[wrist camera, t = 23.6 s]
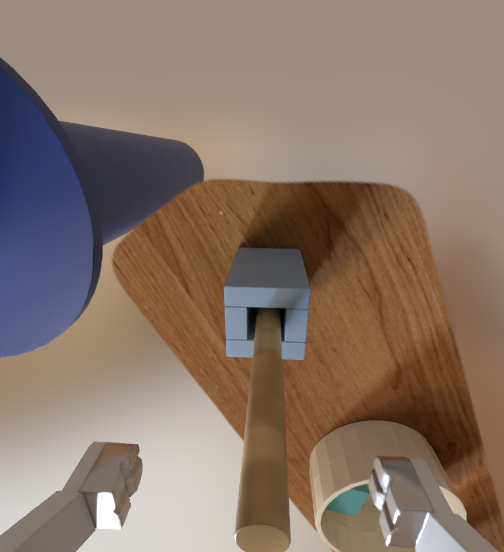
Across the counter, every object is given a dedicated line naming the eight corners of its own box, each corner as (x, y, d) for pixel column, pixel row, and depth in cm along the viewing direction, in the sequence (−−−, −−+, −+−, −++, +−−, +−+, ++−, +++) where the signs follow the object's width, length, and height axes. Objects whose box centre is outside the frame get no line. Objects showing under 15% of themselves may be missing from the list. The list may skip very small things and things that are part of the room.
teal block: (313, 470, 34) (318, 508, 30) (324, 447, 32) (331, 484, 29) (346, 477, 34) (355, 516, 30) (359, 455, 32) (370, 493, 29)
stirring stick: (256, 307, 22) (231, 552, 9) (260, 288, 22) (237, 520, 8) (277, 310, 22) (284, 561, 9) (281, 292, 22) (296, 530, 8)
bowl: (338, 513, 38) (349, 574, 32) (288, 443, 33) (291, 500, 28) (449, 484, 34) (483, 547, 29) (410, 403, 30) (441, 459, 24)
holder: (239, 301, 27) (226, 356, 19) (238, 247, 25) (223, 285, 17) (295, 303, 26) (304, 360, 19) (299, 248, 24) (311, 288, 17)
